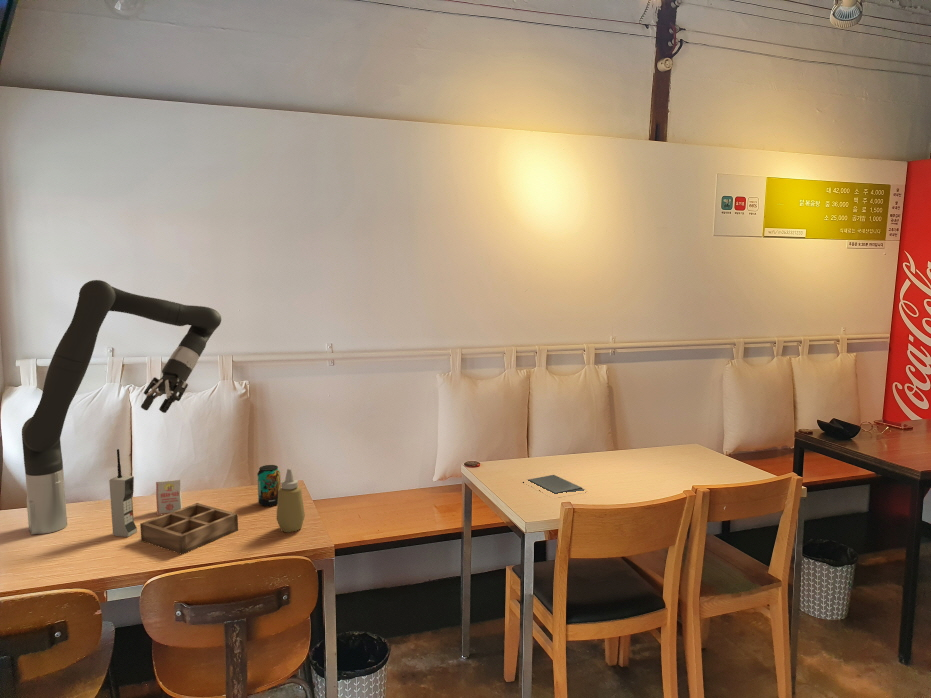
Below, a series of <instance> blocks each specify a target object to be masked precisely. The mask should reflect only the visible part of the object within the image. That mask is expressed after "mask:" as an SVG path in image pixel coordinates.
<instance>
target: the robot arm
mask: <svg viewBox="0 0 931 698" xmlns="http://www.w3.org/2000/svg"><path fill="white" fill-rule="evenodd" d="M78 292H79V293H78V299H77V302H76V307H75V310H74V313H73V316H72V318H71V319H72V320H71V321H70V324H69V326H68V327H67V329H66V330H65V332H64V334H63V336H62V337H61V339H60V341H59V343H58V345H57V346H56V348H55V351H54V352H53V355H52V358H51V360H50V362H49V365H48V367H47V372H46V375H45V379H44V384H43V388H42V394H41V398H40V400H39V403H38V405H37V407H36V409H35V411H34V413H33V415H32V416H31V417H29V418H28V419H27V420H26V421H25V422H24V423H23V426H22V428H21V440H22V441H21V442H22V453H23V465H24V472H25V473H24V475H25V476H24V477H25V485H26V496H27V497H26V511H27V523H28V529H29V532H30V535H31V536H32V535H41V534H50V533H54V532H57V531H60V530H62V529H64V528H66V527H67V526H68V516H67V502H66V501H67V499H66V490H65V477H64V463H63V462H64V461H63V456H62V455H63V454H62V446H61V445H62V444H61V443H62V441H61V436H62V432H63V428H64V425H65V421H66V417H67V414H68V411H69V408H70V406H71V403H72V402H73V400H74V398H75V395H76V394H77V393H78V389H79V388H80V385H81V384H82V382H83V379H84V377H85V376H86V372H87V370H88V367H89V365H90V363H91V360H92V357H93V353H94V350H95V347H96V342H97V338H98V335H99V331H100V329H101V327H102V325H103V323H104V321H105V319H106V317H107V315H108V314H109V312H116V313H124V314H130V315H133V316H138V317H142V318H143V319H148V320H151V321H155V322H158V323H161V324H162V323H163V324H167V325H170V326H171V325H172V326H175V327H176V326H177V327H185V326H189V328H188V330H187V333H186V334H185V335H184V336H183V338H182V339H181V341H180V343H179V344H178V346H177V347H176V348H175V350H174V351H173V352H172V353H171V356H169V359H168V360H167V362H166V363H165V364H164V366H163V368H162V370H161V373H162V377H161V378H160V379H158V378H157V377H156V376H155V377H153V378H152V380H151V381H150V382H149V384H148V386H146V389H144V392H143V394H144V395H145V396H146V397H145V398H144V401H142V404H141V406H140V408H141V409H142V410H144V411H148V410H150V407H151V406H152V404H153V402H154V400H155V399H157V398H158V397H161V396H163V395H166V396H165V397H166V398H164V400H163V401H162V403H161V405H160V407H159V408H158V410H159V411H160V412H161V413H163V414H165V413H167V412H168V410H170V407H171V406H172V404H173V403H175V402H176V401H177V402H179V401H180V400H181V399H182V397H183V395H184V394H185V392H186V390H187V388H188V386H189V384H188V383H187V381H188V379H189V377H190V375H191V373H192V372H193V371H194V369H195V367H196V366H197V363H198V361H199V359H200V357H201V355H202V354H203V352H204V350H205V348H206V346H207V343H208V342H209V339H210V338H211V337H212V335H213V334H214V332H215V331H216V330H217V329H218V328H219V327H220V325H221V323H222V315H221V314H220V312H218V311H217V310H216V309H213V308H212V307H209V306H204V305H203V306H202V305H189V304H182V303H178V302H176V301H171V300H166V299H162V298H158V297H157V298H155V297H149V296H144V295H139V294H135V293H131V292H129V291H125V290H122V289H120V288H116V287H114V286H112V285H111V284H110V283H108V282H107V281H104V280H101V279H93V280H90V281H86V282H85V283H84V284H83V285H82V286H81V287H80V290H79V291H78Z"/></svg>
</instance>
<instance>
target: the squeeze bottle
mask: <svg viewBox="0 0 931 698" xmlns="http://www.w3.org/2000/svg"><path fill="white" fill-rule="evenodd" d="M280 483H281V489H280V490H279V491H278V504H277V505H276V506H277V507H276V517H275V518H276V521H277V524H278V526H279V528H280V530H282V531H281V532H283V531H284V533H292V532H291V531H295V532H298V531H300V530H301V529H302V527H303V524H304V521H305V517H306V512H305V505H304V498H303V492H302V491H303V490H302V488H301V487H299V480H298V479H295V478H294V474H293V471H292V468H287V469H286V475H285V479H284V480H282V481H280ZM299 529H300V530H299ZM297 530H298V531H297Z"/></svg>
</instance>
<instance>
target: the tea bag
mask: <svg viewBox="0 0 931 698" xmlns="http://www.w3.org/2000/svg"><path fill="white" fill-rule="evenodd" d="M155 484H156V485H155V486H156V489H155V490H156V492H155V493H156V494H155V495H156V515H157V516H162V515H161V514H164V515H165V514H168V513H171V512H174V511H176V510H179V509H182V508H183V501H182V497H183V496H182V486H181V479H175V480H164V481H163V480H162V481H156V482H155Z"/></svg>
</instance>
